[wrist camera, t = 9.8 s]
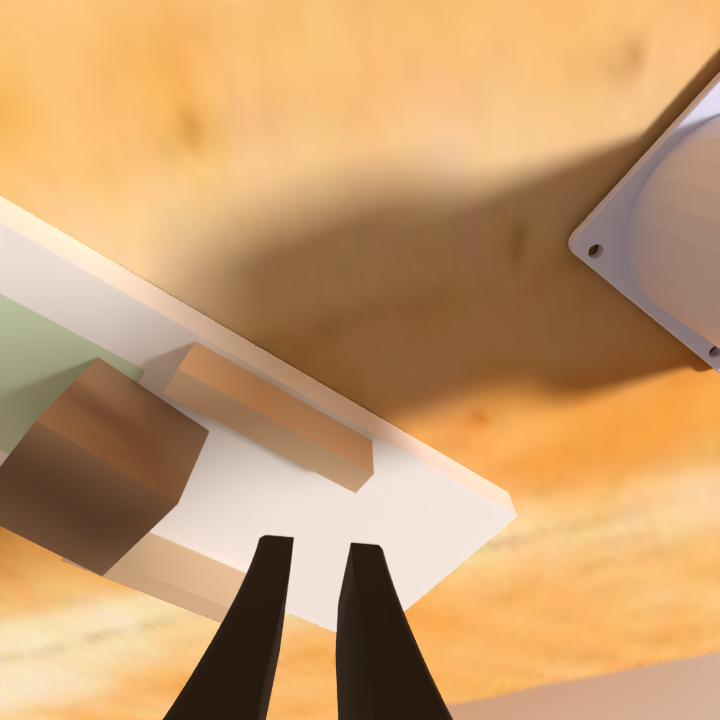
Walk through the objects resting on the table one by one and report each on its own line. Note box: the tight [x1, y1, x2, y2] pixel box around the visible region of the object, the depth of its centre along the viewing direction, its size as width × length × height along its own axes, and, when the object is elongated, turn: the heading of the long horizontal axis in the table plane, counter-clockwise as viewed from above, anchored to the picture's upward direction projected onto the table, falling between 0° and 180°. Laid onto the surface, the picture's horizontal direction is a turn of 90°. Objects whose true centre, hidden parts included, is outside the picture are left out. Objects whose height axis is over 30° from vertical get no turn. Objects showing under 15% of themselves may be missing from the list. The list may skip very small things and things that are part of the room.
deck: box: [0, 196, 517, 633], centre depth 20 cm, size 32×12×4 cm, turn 55°
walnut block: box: [0, 357, 209, 576], centre depth 18 cm, size 5×5×4 cm
